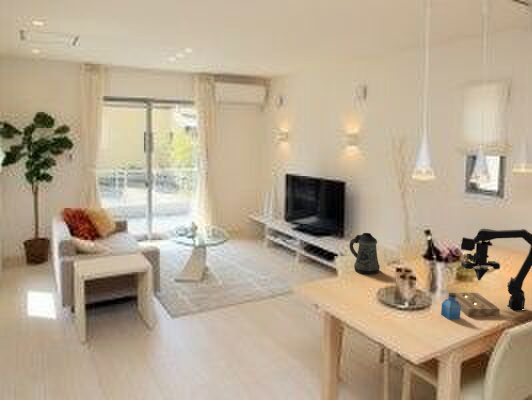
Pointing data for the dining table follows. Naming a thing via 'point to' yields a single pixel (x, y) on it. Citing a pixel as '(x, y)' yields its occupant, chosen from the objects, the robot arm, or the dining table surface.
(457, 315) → the perfume bottle
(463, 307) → the socket board
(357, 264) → the beer stein
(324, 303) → the dining table surface
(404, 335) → the dining table surface
